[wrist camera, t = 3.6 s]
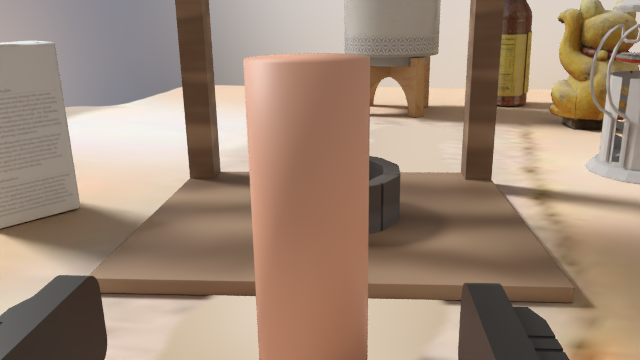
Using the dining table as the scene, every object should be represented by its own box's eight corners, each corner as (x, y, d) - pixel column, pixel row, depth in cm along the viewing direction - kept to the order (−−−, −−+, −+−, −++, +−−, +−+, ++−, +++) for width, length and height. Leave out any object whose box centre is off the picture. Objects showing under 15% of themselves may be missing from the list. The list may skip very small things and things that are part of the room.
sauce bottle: (502, 99, 89) (512, -35, 83) (535, 104, 84) (549, -39, 78) (473, 103, 85) (481, -36, 80) (506, 109, 80) (517, -40, 75)
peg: (313, 407, 20) (306, 65, 17) (237, 358, 23) (217, 59, 20) (389, 354, 23) (395, 56, 20) (313, 317, 26) (307, 52, 23)
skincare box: (58, 197, 44) (33, 40, 41) (81, 209, 41) (57, 41, 38) (-29, 217, 40) (-65, 44, 36) (-9, 232, 37) (-46, 46, 34)
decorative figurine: (609, 118, 72) (626, -5, 68) (654, 131, 64) (675, -8, 60) (538, 121, 71) (550, -4, 67) (574, 134, 63) (591, -6, 59)
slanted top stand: (594, 302, 27) (693, -423, 19) (69, 292, 29) (-36, -371, 21) (494, 178, 47) (523, -199, 39) (189, 177, 49) (159, -183, 41)
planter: (379, 122, 72) (381, -25, 67) (328, 108, 83) (326, -19, 78) (455, 112, 78) (462, -23, 73) (398, 101, 89) (401, -18, 84)
